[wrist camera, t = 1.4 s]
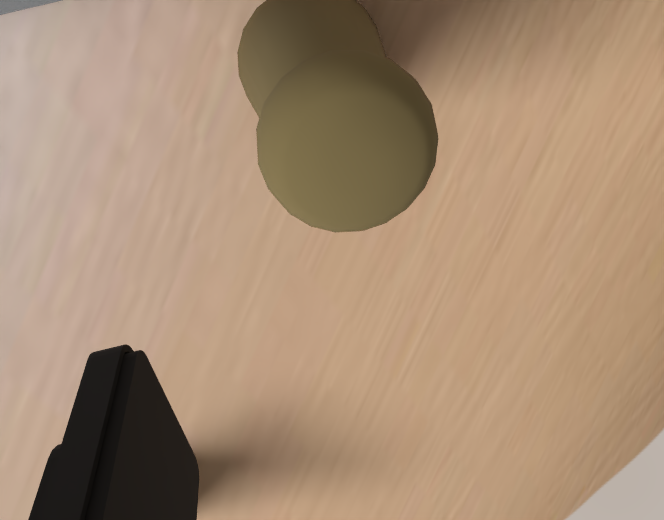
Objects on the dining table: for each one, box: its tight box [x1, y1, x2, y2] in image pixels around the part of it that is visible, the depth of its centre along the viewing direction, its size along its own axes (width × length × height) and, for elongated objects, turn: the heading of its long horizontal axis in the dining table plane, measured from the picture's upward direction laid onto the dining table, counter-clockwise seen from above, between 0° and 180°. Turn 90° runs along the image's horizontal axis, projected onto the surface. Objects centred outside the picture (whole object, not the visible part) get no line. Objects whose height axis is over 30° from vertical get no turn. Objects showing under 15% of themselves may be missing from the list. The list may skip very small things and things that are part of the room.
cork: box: [238, 0, 438, 232], centre depth 21 cm, size 6×6×11 cm
